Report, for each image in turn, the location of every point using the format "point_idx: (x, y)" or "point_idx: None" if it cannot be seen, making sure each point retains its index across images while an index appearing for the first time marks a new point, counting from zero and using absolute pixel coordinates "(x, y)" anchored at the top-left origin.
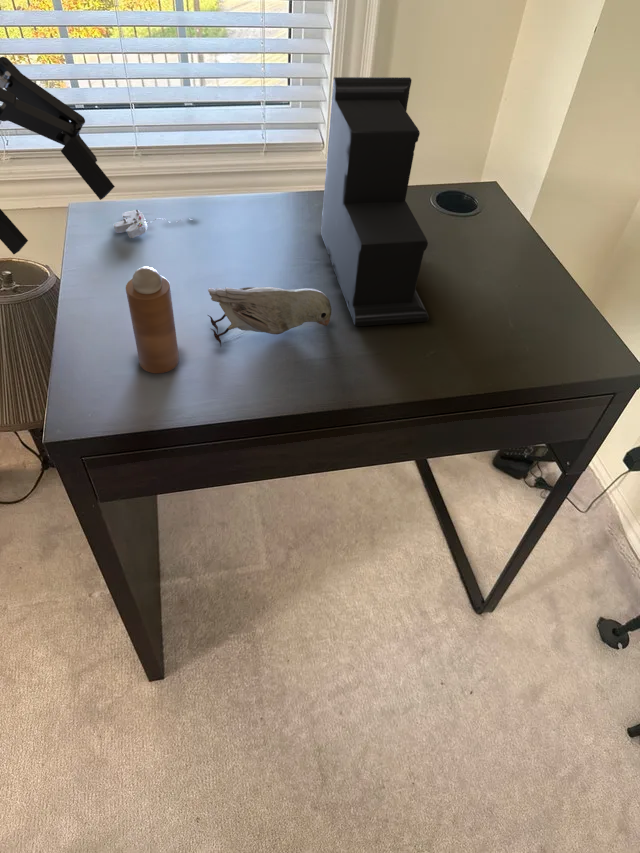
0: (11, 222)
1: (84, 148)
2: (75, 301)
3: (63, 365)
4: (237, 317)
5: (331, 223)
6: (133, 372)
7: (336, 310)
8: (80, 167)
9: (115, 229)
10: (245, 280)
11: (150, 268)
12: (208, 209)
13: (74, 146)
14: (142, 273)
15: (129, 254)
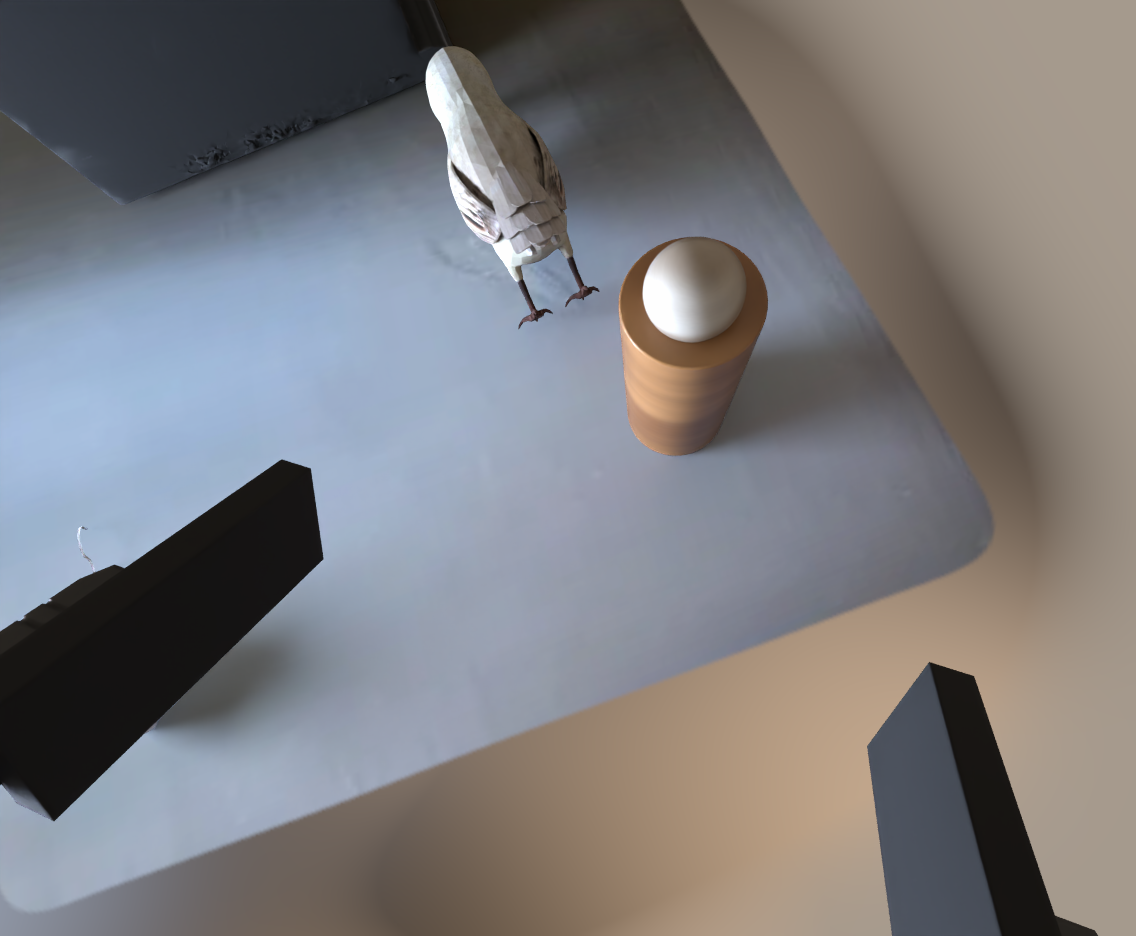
0: (968, 777)
1: (53, 618)
2: (498, 713)
3: (761, 631)
4: (563, 212)
5: (139, 99)
6: (733, 452)
7: (409, 114)
8: (183, 652)
9: (147, 730)
10: (331, 320)
11: (680, 253)
12: (20, 506)
13: (52, 679)
14: (719, 266)
15: (258, 646)
